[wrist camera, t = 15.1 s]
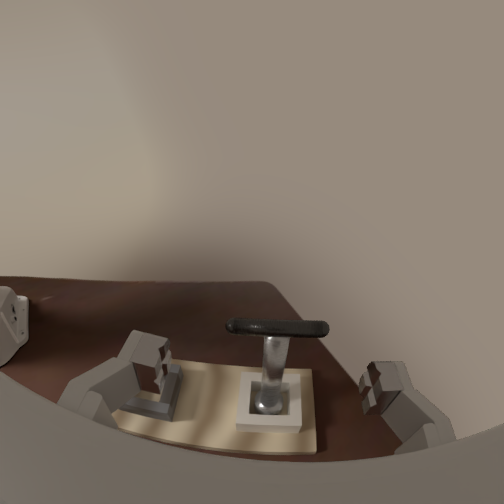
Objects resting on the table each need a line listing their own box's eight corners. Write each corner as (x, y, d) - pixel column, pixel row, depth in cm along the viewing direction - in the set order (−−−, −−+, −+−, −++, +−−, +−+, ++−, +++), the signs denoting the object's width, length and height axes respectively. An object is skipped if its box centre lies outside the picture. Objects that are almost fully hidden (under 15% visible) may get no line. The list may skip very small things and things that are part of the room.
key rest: (236, 430, 32) (235, 423, 30) (241, 381, 38) (241, 371, 37) (298, 433, 31) (301, 425, 30) (296, 384, 38) (299, 373, 36)
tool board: (104, 425, 31) (91, 412, 28) (130, 356, 43) (122, 339, 40) (314, 454, 29) (321, 444, 27) (309, 373, 41) (315, 358, 39)
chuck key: (232, 417, 33) (222, 335, 23) (234, 394, 37) (227, 305, 26) (302, 419, 33) (333, 339, 23) (301, 396, 36) (328, 309, 26)
